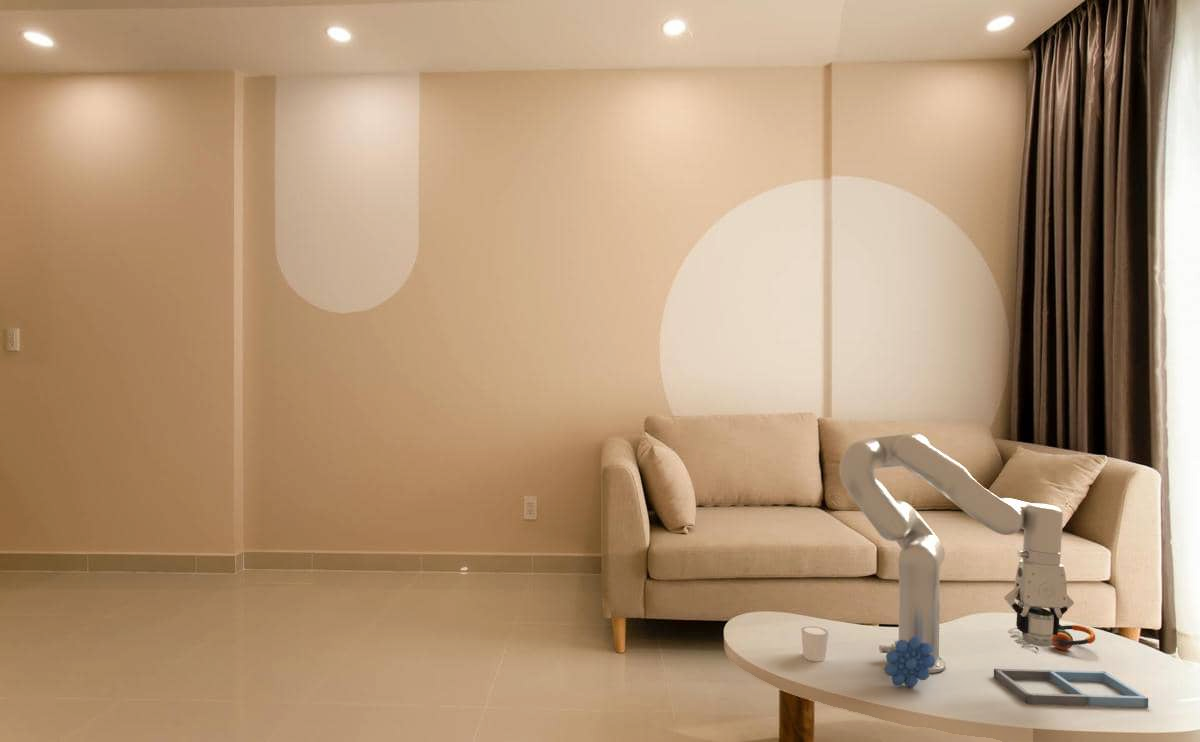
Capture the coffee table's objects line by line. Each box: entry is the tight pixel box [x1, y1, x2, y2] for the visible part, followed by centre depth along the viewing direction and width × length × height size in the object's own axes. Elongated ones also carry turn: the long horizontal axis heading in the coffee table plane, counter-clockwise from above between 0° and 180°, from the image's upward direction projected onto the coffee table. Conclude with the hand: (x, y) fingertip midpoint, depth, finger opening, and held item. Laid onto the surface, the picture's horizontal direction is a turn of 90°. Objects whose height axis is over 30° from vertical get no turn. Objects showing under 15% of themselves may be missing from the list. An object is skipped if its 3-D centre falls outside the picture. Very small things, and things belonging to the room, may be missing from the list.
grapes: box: [884, 637, 935, 688], centre depth 167 cm, size 12×7×12 cm, turn 87°
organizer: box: [993, 668, 1149, 708], centre depth 165 cm, size 27×14×2 cm, turn 89°
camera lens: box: [1021, 607, 1054, 648], centre depth 165 cm, size 6×6×8 cm
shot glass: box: [800, 625, 830, 662], centre depth 182 cm, size 7×7×7 cm
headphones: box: [1008, 623, 1096, 651], centre depth 193 cm, size 17×5×20 cm
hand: (1037, 631), depth 165 cm, fingers closed on camera lens, 6 cm apart
